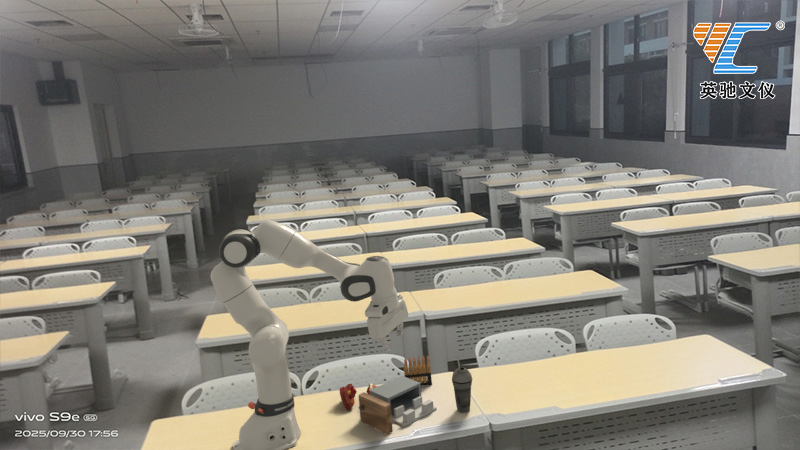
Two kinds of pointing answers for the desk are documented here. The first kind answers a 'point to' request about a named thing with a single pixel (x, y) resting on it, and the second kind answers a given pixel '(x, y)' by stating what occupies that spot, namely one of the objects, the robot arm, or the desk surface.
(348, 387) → the teeth
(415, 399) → the cabinet
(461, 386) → the beverage cup
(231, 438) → the desk surface
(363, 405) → the door
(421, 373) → the ammunition clip
